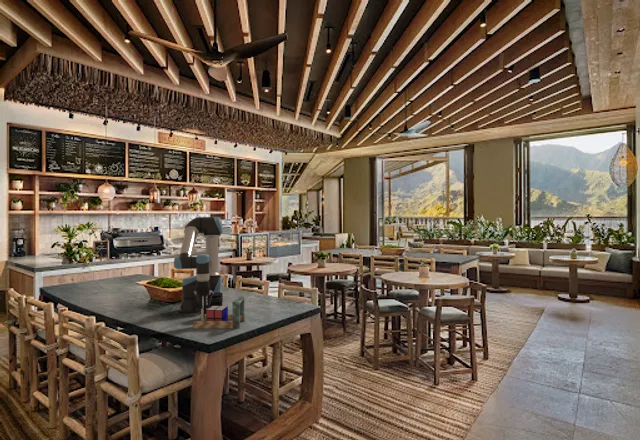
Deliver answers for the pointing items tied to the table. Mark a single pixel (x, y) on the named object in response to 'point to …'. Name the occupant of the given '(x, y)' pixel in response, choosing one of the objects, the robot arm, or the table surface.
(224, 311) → the puzzle cube
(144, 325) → the table surface
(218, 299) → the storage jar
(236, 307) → the channel
